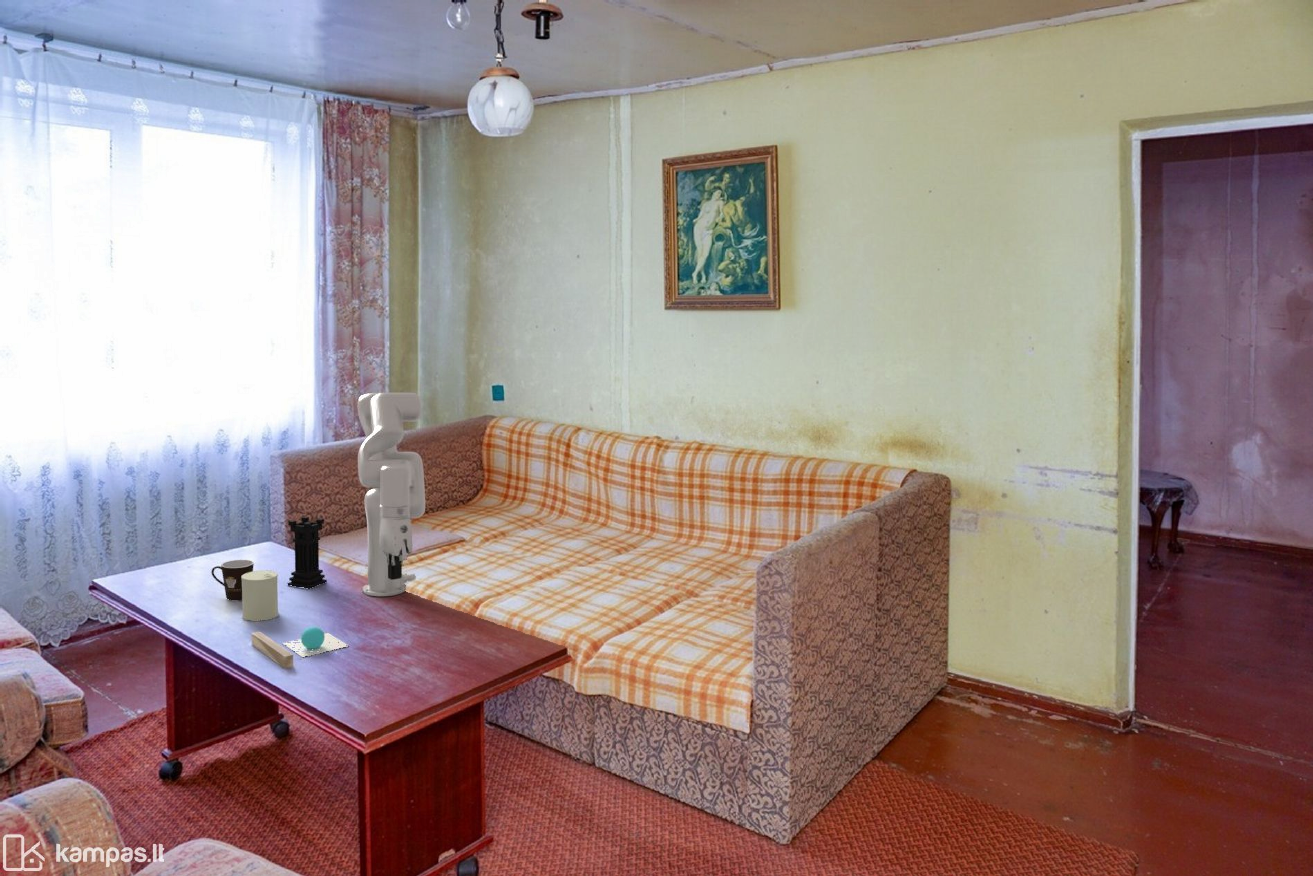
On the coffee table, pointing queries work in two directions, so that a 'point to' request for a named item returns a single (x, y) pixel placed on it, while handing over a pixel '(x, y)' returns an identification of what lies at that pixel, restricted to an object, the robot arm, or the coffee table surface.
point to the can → (259, 595)
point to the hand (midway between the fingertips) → (394, 578)
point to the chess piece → (306, 553)
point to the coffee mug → (234, 577)
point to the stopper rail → (272, 650)
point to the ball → (312, 637)
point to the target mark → (323, 648)
